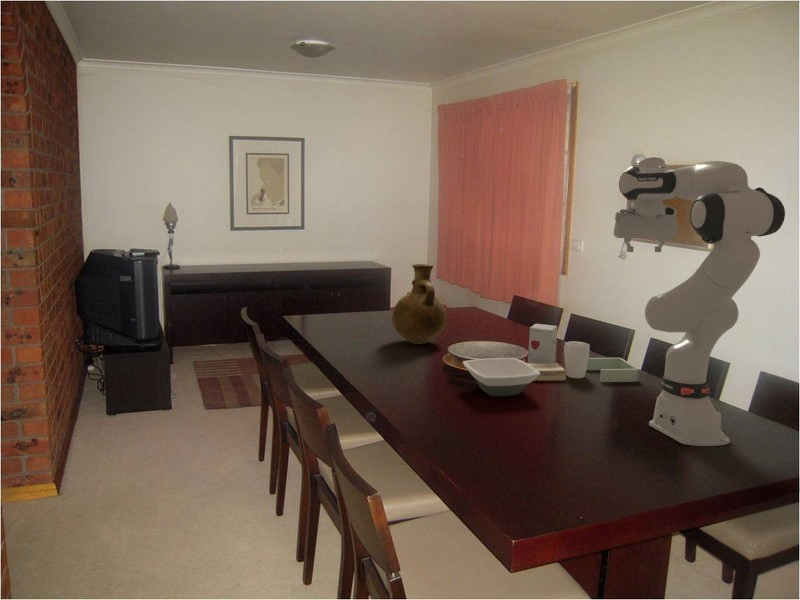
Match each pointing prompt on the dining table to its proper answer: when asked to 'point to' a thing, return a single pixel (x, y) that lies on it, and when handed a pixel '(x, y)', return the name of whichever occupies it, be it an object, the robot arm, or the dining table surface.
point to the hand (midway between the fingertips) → (643, 252)
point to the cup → (576, 358)
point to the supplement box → (542, 343)
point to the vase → (420, 309)
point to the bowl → (501, 375)
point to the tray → (614, 369)
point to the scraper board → (549, 371)
